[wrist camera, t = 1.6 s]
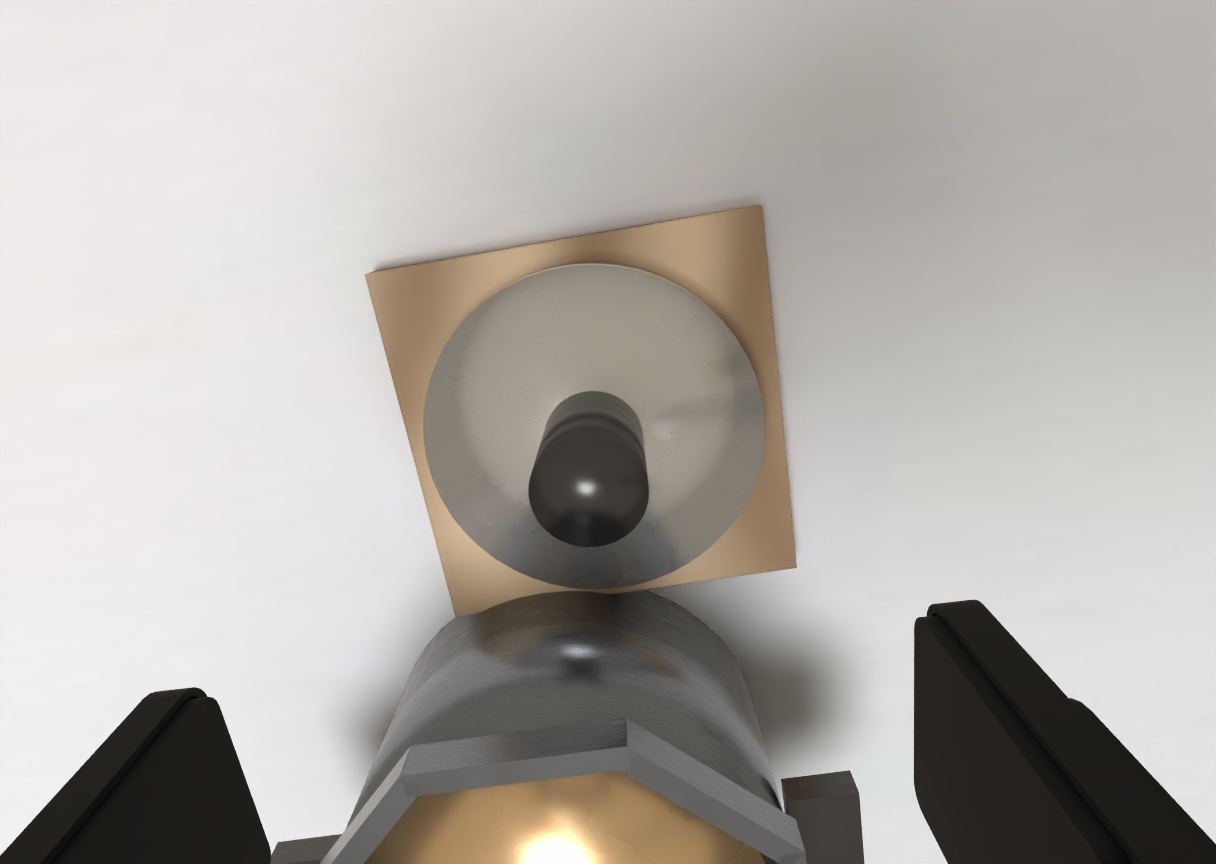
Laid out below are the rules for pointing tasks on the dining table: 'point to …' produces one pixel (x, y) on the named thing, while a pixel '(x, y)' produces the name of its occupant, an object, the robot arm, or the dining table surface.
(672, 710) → the stockpot
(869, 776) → the dining table surface
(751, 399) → the lid
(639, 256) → the plate
